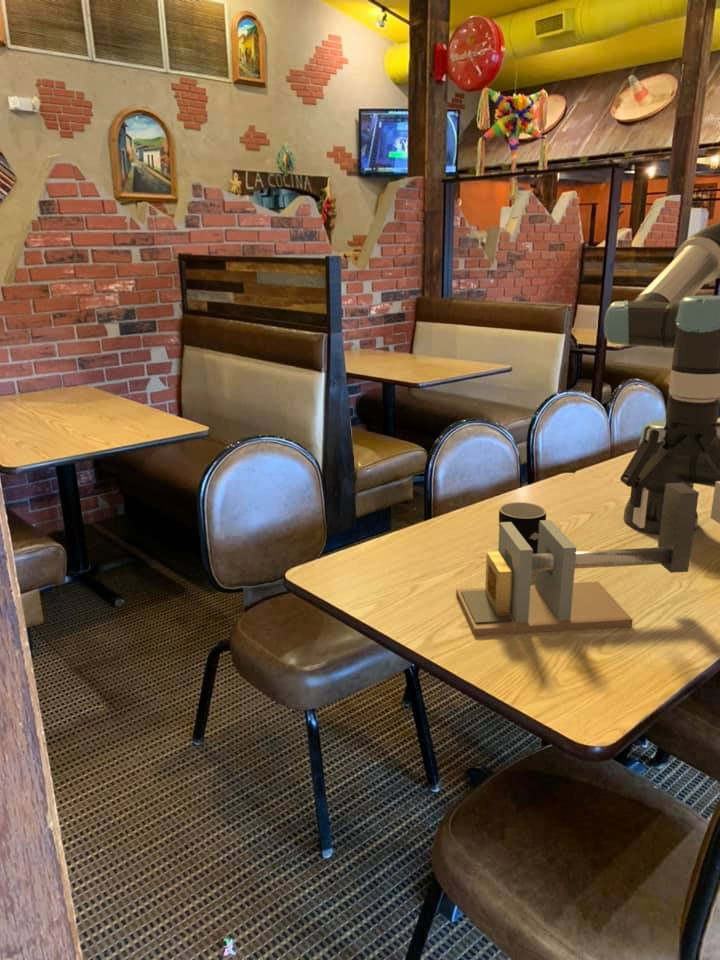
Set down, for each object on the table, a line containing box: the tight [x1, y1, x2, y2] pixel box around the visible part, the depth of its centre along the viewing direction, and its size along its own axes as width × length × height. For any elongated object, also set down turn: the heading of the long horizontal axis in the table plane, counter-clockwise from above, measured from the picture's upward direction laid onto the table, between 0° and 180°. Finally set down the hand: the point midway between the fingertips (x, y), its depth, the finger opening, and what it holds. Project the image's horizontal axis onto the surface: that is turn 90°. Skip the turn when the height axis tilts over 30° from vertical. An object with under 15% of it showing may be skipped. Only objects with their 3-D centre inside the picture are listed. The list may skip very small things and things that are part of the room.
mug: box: [498, 501, 547, 554], centre depth 143 cm, size 12×9×10 cm
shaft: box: [531, 483, 700, 574], centre depth 119 cm, size 27×5×14 cm, turn 95°
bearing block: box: [455, 519, 634, 636], centre depth 121 cm, size 26×14×14 cm, turn 95°
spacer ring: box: [484, 550, 512, 616], centre depth 121 cm, size 2×8×8 cm, turn 5°
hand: (677, 522), depth 120 cm, fingers open, 13 cm apart
